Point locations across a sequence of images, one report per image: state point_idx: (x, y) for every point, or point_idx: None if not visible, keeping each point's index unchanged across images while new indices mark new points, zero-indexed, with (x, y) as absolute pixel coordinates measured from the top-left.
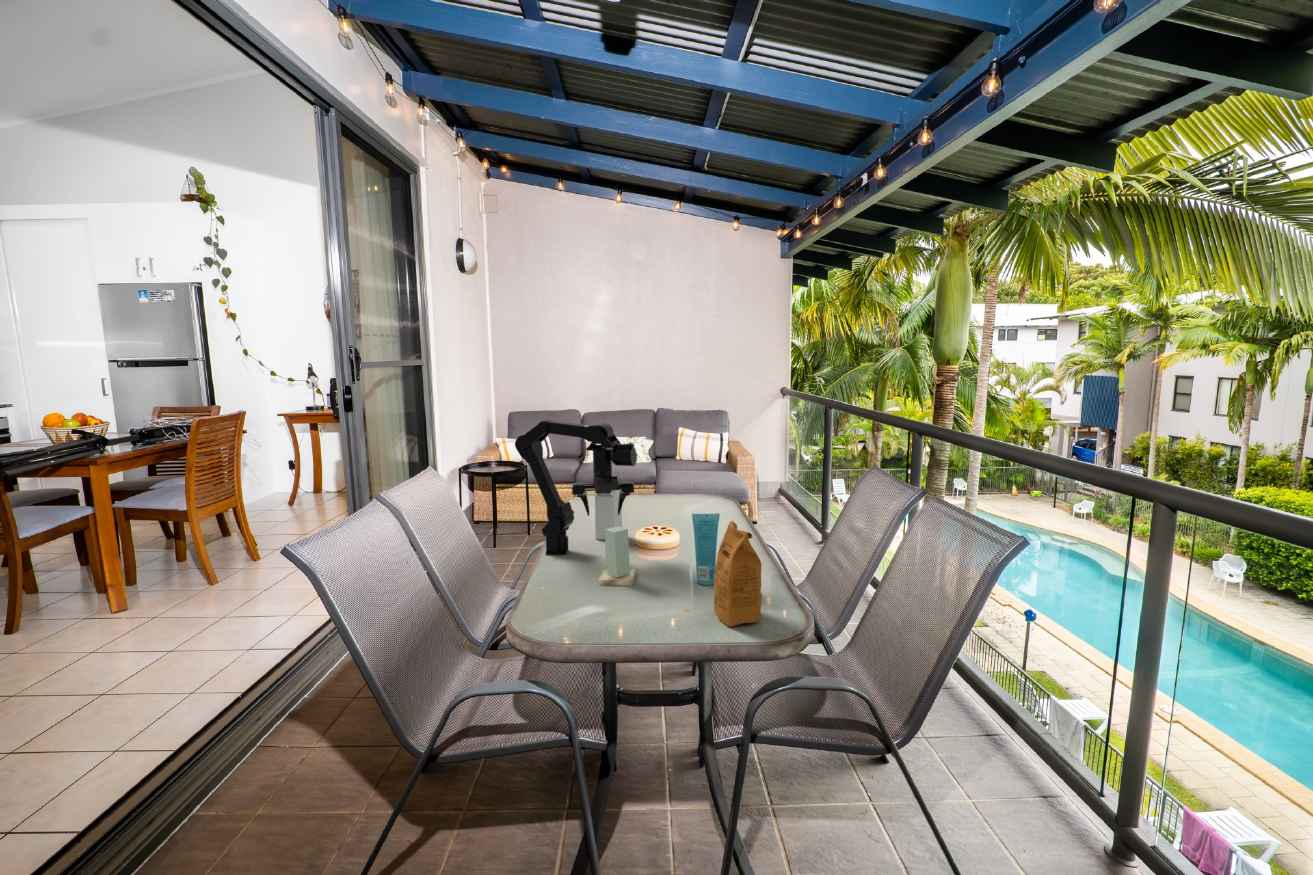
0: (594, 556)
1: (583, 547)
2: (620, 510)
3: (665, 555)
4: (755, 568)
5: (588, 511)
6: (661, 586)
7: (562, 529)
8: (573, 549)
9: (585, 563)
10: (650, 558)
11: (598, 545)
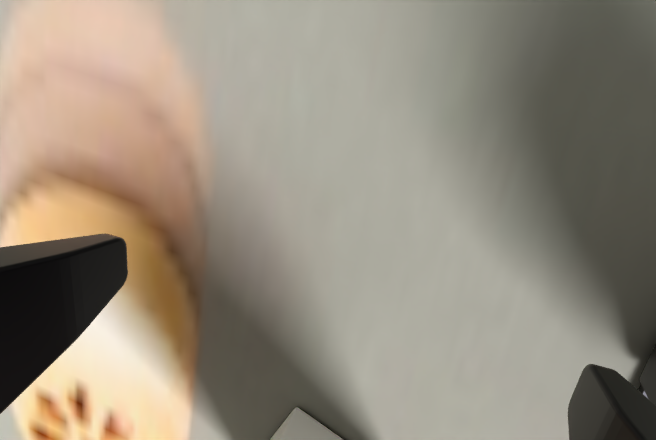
0: (484, 175)
1: (508, 379)
2: (36, 244)
3: (57, 62)
4: None
5: (633, 414)
6: None
7: None
8: None
9: (604, 23)
10: (137, 25)
11: (403, 376)
